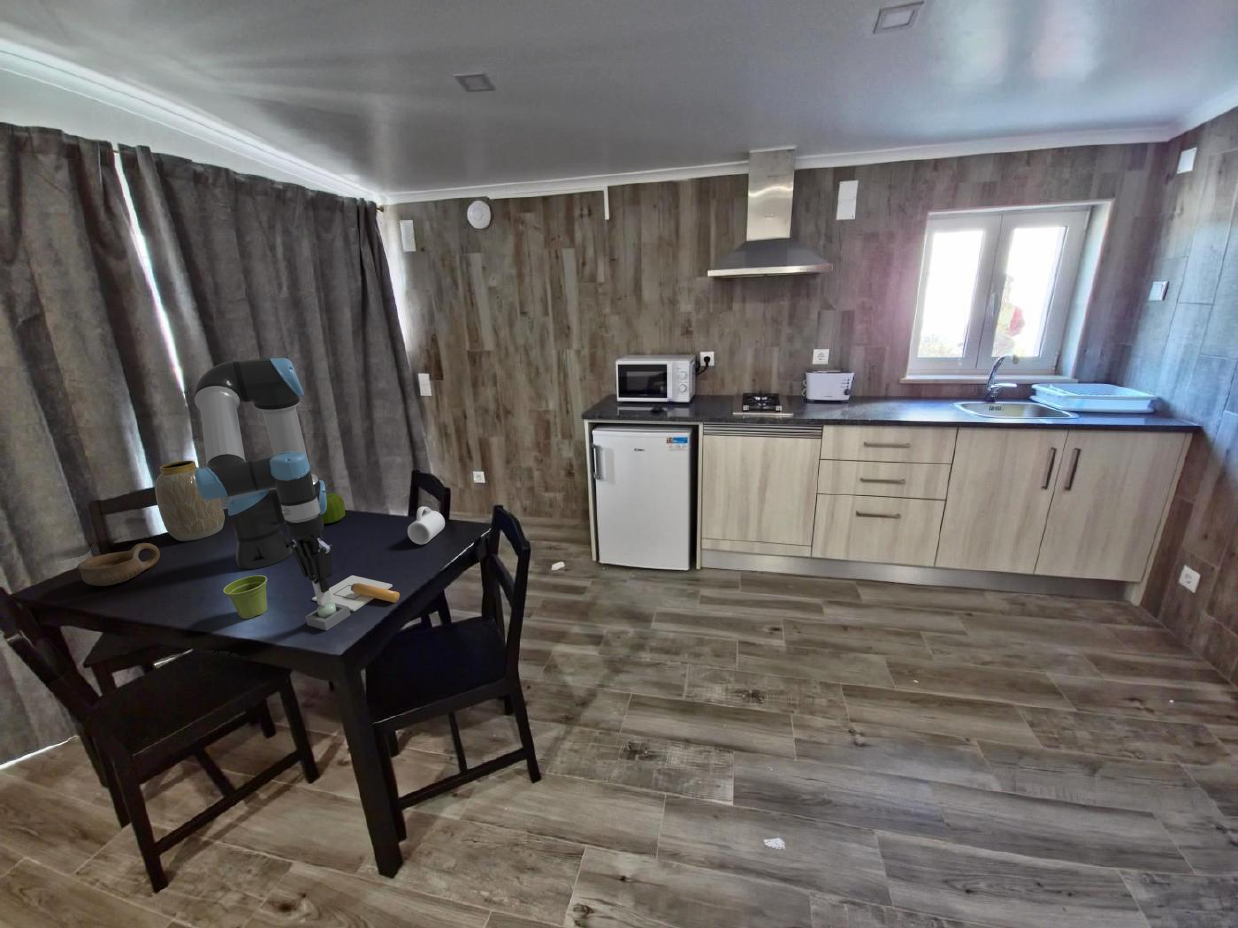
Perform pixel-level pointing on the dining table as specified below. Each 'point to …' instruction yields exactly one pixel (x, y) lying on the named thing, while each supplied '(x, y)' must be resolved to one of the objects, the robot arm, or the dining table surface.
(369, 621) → the dining table surface
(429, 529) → the mug
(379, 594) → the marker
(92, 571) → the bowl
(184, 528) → the vase
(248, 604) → the plant pot
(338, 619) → the button housing
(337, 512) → the apple
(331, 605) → the button
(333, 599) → the sheet
